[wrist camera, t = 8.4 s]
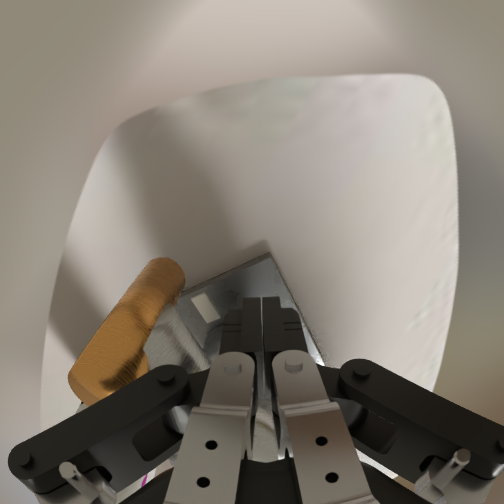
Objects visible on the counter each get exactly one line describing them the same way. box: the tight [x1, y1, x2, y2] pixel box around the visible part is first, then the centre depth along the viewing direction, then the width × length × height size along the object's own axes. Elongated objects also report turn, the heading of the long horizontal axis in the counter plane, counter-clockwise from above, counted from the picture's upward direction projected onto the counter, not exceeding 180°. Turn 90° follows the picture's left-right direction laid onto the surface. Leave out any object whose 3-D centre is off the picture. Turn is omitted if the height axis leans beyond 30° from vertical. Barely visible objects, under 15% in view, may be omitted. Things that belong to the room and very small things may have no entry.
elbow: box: [68, 257, 278, 467], centre depth 14 cm, size 14×6×9 cm, turn 25°
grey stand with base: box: [175, 252, 326, 393], centre depth 21 cm, size 12×12×8 cm
